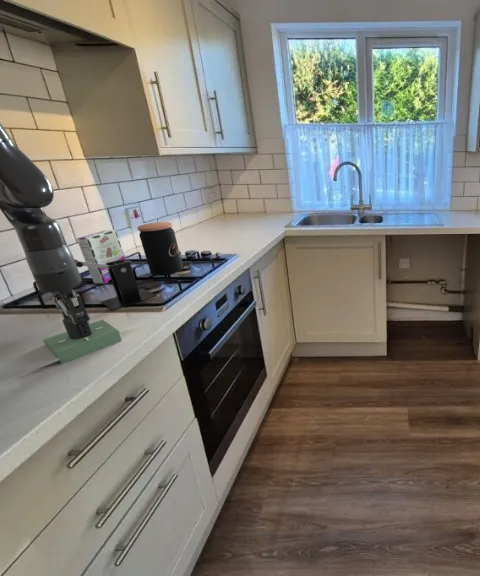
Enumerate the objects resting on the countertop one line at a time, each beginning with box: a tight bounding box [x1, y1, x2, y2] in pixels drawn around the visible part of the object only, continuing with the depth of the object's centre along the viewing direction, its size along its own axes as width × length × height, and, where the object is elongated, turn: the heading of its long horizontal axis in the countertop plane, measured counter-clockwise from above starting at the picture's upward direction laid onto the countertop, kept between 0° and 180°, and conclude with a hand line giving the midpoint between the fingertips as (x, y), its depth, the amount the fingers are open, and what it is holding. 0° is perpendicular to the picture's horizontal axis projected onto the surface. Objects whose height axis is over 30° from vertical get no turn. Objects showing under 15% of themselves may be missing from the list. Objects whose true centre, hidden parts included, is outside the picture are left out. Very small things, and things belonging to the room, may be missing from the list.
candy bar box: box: [76, 229, 127, 285], centre depth 127 cm, size 11×5×16 cm, turn 170°
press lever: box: [74, 258, 118, 271], centre depth 102 cm, size 12×5×2 cm, turn 144°
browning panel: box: [42, 319, 122, 365], centre depth 87 cm, size 12×10×3 cm
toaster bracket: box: [100, 259, 158, 311], centre depth 108 cm, size 12×10×13 cm
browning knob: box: [62, 313, 93, 339], centre depth 85 cm, size 4×4×5 cm
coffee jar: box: [136, 221, 184, 277], centre depth 130 cm, size 11×11×18 cm
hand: (79, 331), depth 86 cm, fingers open, 8 cm apart
